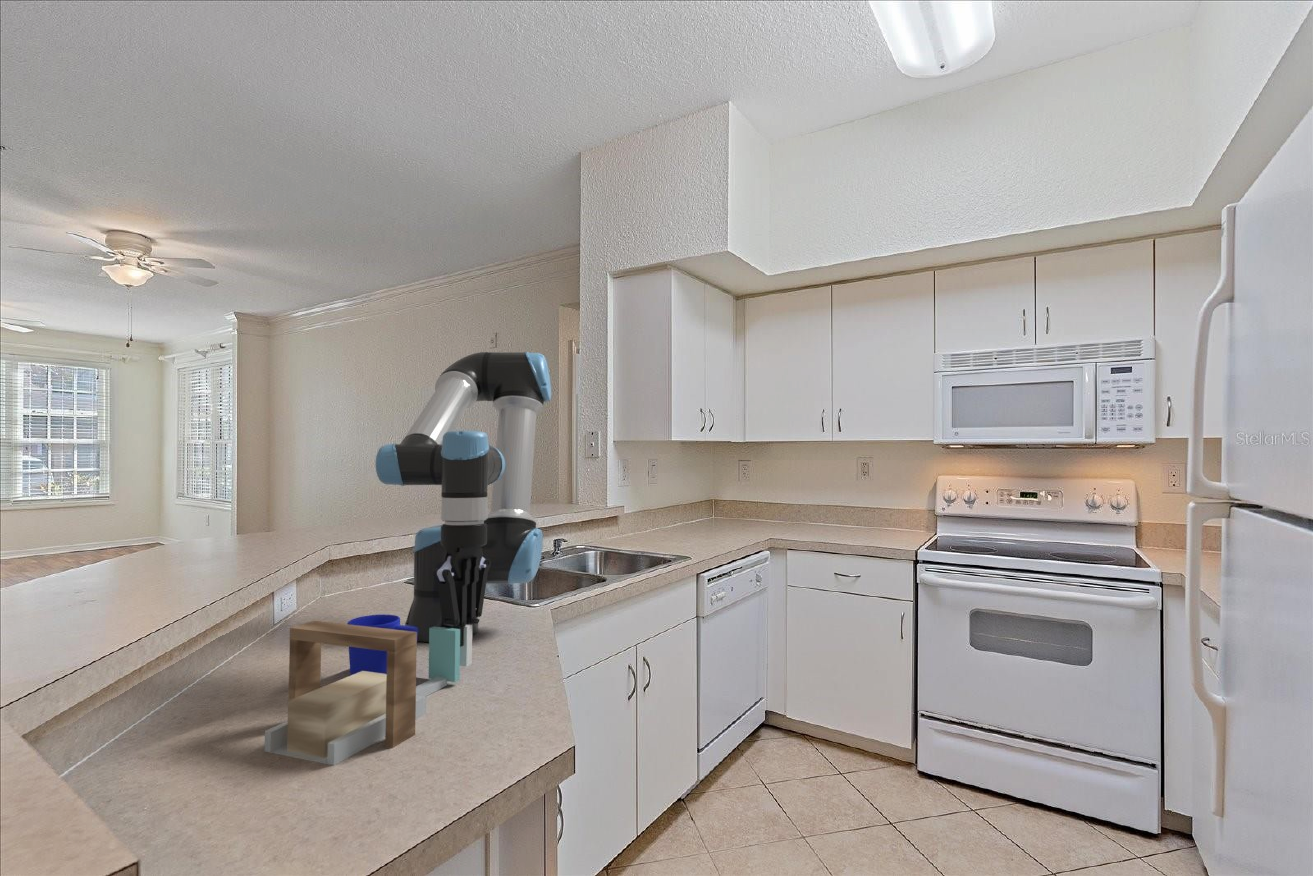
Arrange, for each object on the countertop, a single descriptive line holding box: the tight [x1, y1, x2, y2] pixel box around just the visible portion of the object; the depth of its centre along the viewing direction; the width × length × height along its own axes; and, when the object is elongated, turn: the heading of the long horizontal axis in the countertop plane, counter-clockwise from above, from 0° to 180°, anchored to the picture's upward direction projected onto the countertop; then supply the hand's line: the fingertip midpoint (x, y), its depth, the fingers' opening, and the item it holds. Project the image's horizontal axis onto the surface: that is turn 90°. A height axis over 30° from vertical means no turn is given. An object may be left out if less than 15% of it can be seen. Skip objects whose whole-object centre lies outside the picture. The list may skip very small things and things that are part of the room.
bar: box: [287, 671, 387, 758], centre depth 83 cm, size 12×6×6 cm, turn 161°
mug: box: [346, 613, 418, 676], centre depth 107 cm, size 8×12×10 cm
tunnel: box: [287, 620, 418, 749], centre depth 84 cm, size 4×17×14 cm, turn 71°
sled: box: [263, 626, 461, 766], centre depth 89 cm, size 28×11×10 cm, turn 161°
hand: (462, 664), depth 106 cm, fingers closed
